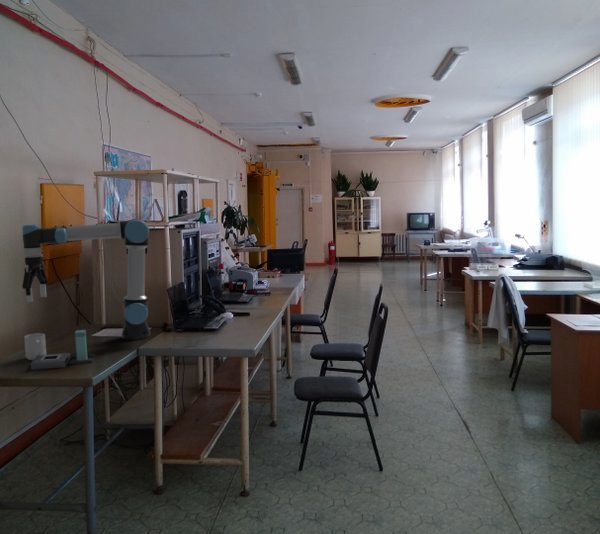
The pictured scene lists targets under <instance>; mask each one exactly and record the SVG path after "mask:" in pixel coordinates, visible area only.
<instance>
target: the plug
mask: <svg viewBox="0 0 600 534" xmlns="http://www.w3.org/2000/svg"><path fill="white" fill-rule="evenodd" d="M74 338H75V339H74V340H75V351H76V352H75V353H76V356H77V360H87V359H88V357H87V355H88V347H87V346H88V345H87V331H86V329H78V330H75V332H74Z"/></svg>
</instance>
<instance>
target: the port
mask: <svg viewBox="0 0 600 534" xmlns="http://www.w3.org/2000/svg"><path fill="white" fill-rule="evenodd" d="M69 361H71V352H59V353H48V354H47V353H46V355H38V356H37V357H36V358H35V359H34V360H31V362H30V370H31V371H35V370H36V371H37V370H50V369H59V368H60V369H61V368H66V367H67V365H68V364H69Z"/></svg>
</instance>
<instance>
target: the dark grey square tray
mask: <svg viewBox="0 0 600 534" xmlns="http://www.w3.org/2000/svg"><path fill="white" fill-rule="evenodd" d="M87 357H88V359H87V360H77V355H72V356H71V359H70V360H69V362H68V365H79V364H91V363H93V362H94V360H95V357H96V354H94V353H92V354H87Z"/></svg>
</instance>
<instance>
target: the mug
mask: <svg viewBox="0 0 600 534" xmlns="http://www.w3.org/2000/svg"><path fill="white" fill-rule="evenodd" d="M23 338H24V349H25V358H26V359H27V360H29V361H33V360H34V359H35V358H36V357H37V356H38V355H46V354H47V346H46V345H47V343H46V334H45V333H42V332H39V333H38V332H36V333H30V334H27V335H24V337H23Z"/></svg>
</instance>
